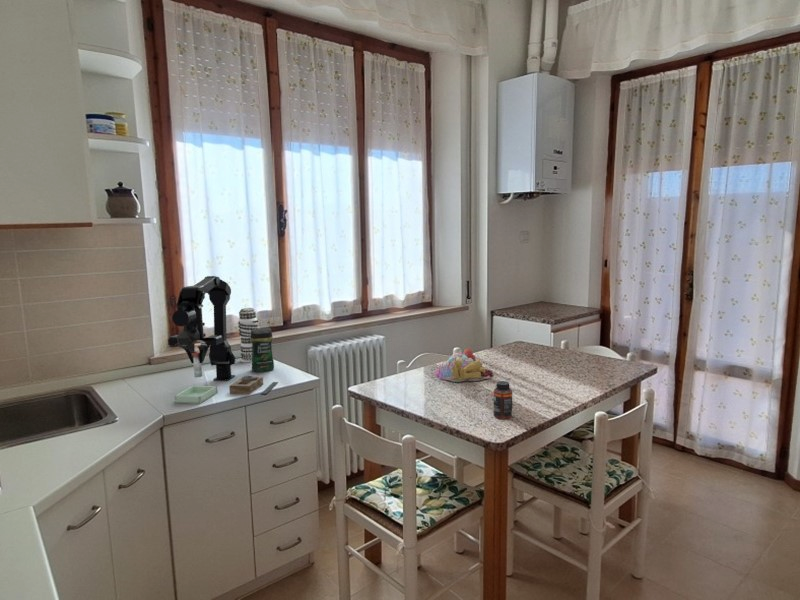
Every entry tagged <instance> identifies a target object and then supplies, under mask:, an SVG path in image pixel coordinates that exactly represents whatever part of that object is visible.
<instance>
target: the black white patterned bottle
mask: <svg viewBox="0 0 800 600" xmlns="http://www.w3.org/2000/svg"><path fill="white" fill-rule="evenodd" d="M238 314H239V315H238V317H239V318H238V322H237V324H238V328H239V329H238V332H239V333H238V334H239V338H240V359H241V362H242V363H252V342H251V340H250V335H251V330H253V329H259V328H258V327H259V325H258V324H257V323H259V321H258V320H257V310H255V308H253V307H243V308H241V309H240V310H239V312H238Z"/></svg>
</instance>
